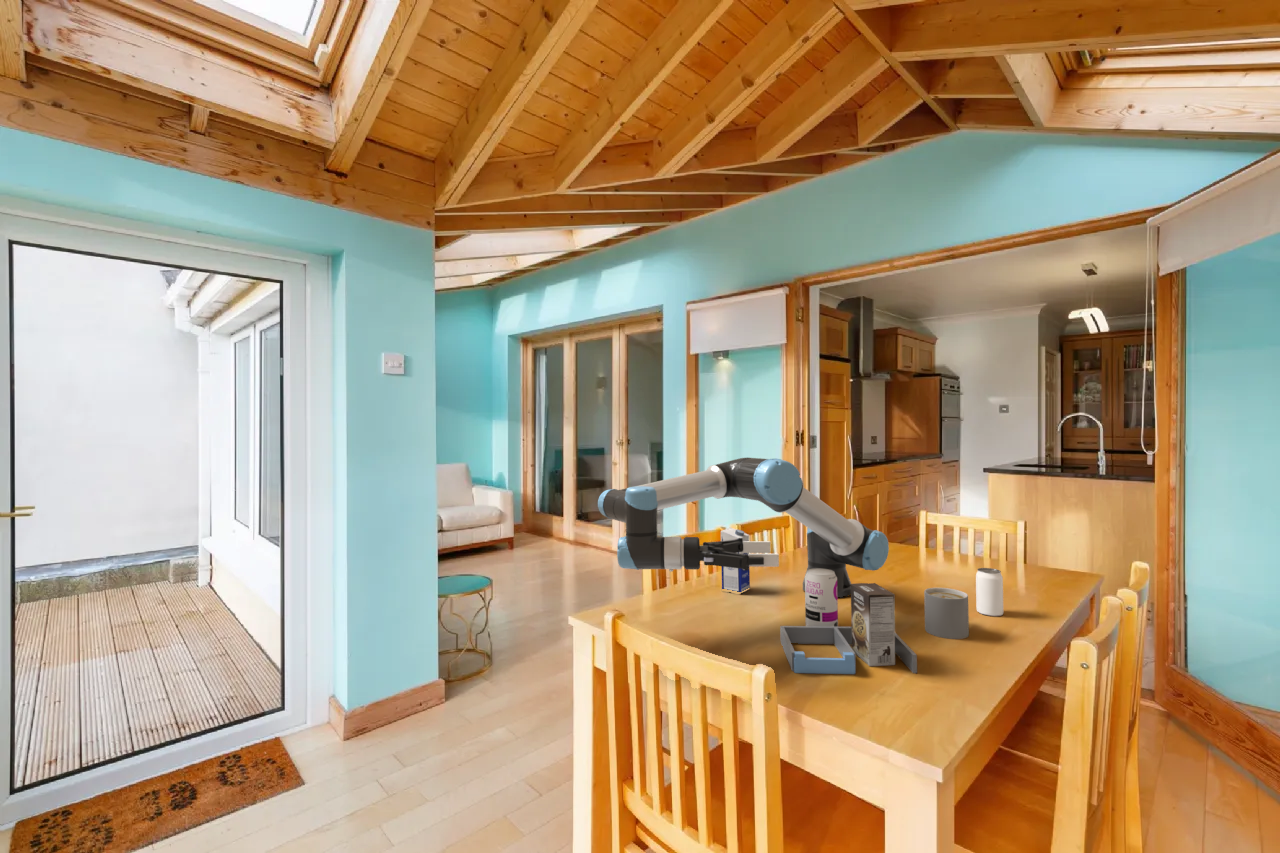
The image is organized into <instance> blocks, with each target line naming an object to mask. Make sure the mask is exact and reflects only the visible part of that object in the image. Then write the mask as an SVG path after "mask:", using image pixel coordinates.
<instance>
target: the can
mask: <svg viewBox="0 0 1280 853" xmlns="http://www.w3.org/2000/svg"><path fill="white" fill-rule="evenodd" d="M1003 579H1004V578H1003V575H1002V572H1001V570H999V569H997V568H991V567H980V568H977V571H976V574H975V595H976V596H975V598H976V599H975V600H976V601H975V603H976V607H975V609H976V611H977V613H978V612H979V613H978V614H980V615H982V616H986V615H987V616H989V617H1001V616H1003V614H1004V580H1003Z"/></svg>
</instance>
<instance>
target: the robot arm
mask: <svg viewBox="0 0 1280 853" xmlns="http://www.w3.org/2000/svg"><path fill="white" fill-rule="evenodd" d="M800 475H801V473H800V471H799V470H798V468H797V467H796V465H794V464H793V463H791V462H790V461H787V460H784V459H781V458H761V457H760V458H758V457H757V458H756V457H741V458H736V459H732V460H728V461H724V462H720V463H718V464H713V465H709V466H708V467H707V469H706V470H702V471H698V472H694V473H688V474H684V475H680V476H676V477H671V478H667V479H662V480H661V479H660V480H658V481H654V482H648V483H645V484H640V485H635V486H630V487H626V488H622V489H616V488H612V489H607V490H604V491H603V492H602V493H601V494H600V495H599V497H598V500H597V508H598V510H599V512H600V514H601V515H602V516H604V517H606V518H608V519H609V520H614V521H619V522H621V523H624V524H625V536H620V537H619V538H618V541H617V550H616V552H617V554H616V556H617V557H616V558H617V563H618V567H620V568H621V569H627V570H629V569H630V570H637V571H639V570H669V572H670V573H671V572H673V571H674V570H681V569H682V568H683V567H684V569H685V570H699V569H700V568H701V562H703V564H704V566H717V567H721V566H723V567H731V568H739V569H745V570H749V571H750V567H752V568H753V567H754V568H755V567H757V568H758V567H760V568H761V567H770V568H771V567H772V568H773V567H775V568H776V567H780V556H779V555H780V554H779V553H771V541H770V540H769V541H768V540H767V541H766V540H765V541H759V540H758V541H757V540H755V541H750V540H749V541H743V538H738V539H736V540H728V541H721V540H720V541H718V540H717V541H709V542H706V541H704V542H702V545H701V544H700V537H698V536H684V538H682V537H681V536H659V535H658V511H659V510H665V509H668V508H673V507H676V506H680V505H684V504H689V503H693V502H696V501H700V500H705V499H708V498H714V499H723V498H731V497H732V498H739V499H746V500H752V501H758V502H760V503H762V504H764V505H765V506H766V507H768V508H770V509H771V510H772V511H774V512H775V513H778V514H779V513H786V514H788V515H789V516H791V517H792V518H794V520H796V521H798V523H801V524H802V525H803V526H805V527H806V528H807V531H806V544H807V545H806V547H807V548H806V549H807V568H806V572H805V574H804V577H803V581H802V591H803V590H804V591H805V575H806V573H807V570H809V569H816V568H820V569H828V570H832V571H834V572H835V575H836V577H837V596H838V597H840V598H844V597H843V596H846V597H849V596H851V595H850V594H851V585H850V584H852V581H851V579H850V576H849V573H848V571H847V565H849V566H852V567H854V568H855V567H856V568H860V569H863V570H865V571H877V570H880V568H882V567H883V566H884V564H885V563H886V561H887V559H888V555H889V551H890V549H889V548H890V547H889V540H888V538H887V536H886V534H885V533H883V532H882V531H879V530H877V529H875V530H874V529H873V530H872V529H870V528H867V527H866V526H865V525H864V524H862V523H861V522H860V521H859V520H857V519H855V518H848V519H847V518H846V517H844V516H843V515H842V514H840V513H839V512H837V511H836V510H835V509H834V508H832V507H831V506H829V505H828V504H827V503H825V502H824V501H823V500H821V499H820V498H819V497H818V496H816V495H815V494H814V493H812V492H811V491H809V490H808V489H807V488H805V487H804V486H805V485H804V482H803V480H802V477H800ZM742 551H743V553H749V555H744V554H739V553H737V552H742ZM804 591H803V592H804ZM848 595H849V596H848Z"/></svg>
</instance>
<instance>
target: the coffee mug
mask: <svg viewBox="0 0 1280 853" xmlns="http://www.w3.org/2000/svg"><path fill="white" fill-rule="evenodd" d="M923 593H924V594H923V595H924V601H923V602H924V630H925V631H926V633H928V634H930V635H933V636H934V637H938V638H943V639H950V640H962V639H966V638H968V637H969V635H970V632H969V631H970V628H969V627H970V626H969V595H968V593H967V592H964V591H962V590H960V589H959V590H958V589H956V588H955V589H954V588H947V587H930V588H926V589H924V592H923Z"/></svg>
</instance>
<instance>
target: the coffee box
mask: <svg viewBox="0 0 1280 853" xmlns="http://www.w3.org/2000/svg"><path fill="white" fill-rule="evenodd" d="M850 585H851V595H850V613H851V615H850V616H851V617H850V619H851V623H850V624H851V627H852V644H851V648H852V650H853V651H854V652H855V654H856V656H858V657H859V658H860V660H862V661H863V662H864V663H865V664H866V665H867V666H868V667H880V666H881V667H882V666H895V665H896V653H895V633H896V619H895V618H896V611H895V610H896V608H895V606H896V605H895V604H896V603H895V601H896V600H895V597H896V596H895V593H893V592H891V591H890V590H888V589H886V588H884V587H882V585H880V584H877V583H876V582H874V583H869V582H868V583H867V582H865V583H864V582H863V583H862V582H861V583H860V582H858V583H851V584H850Z"/></svg>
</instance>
